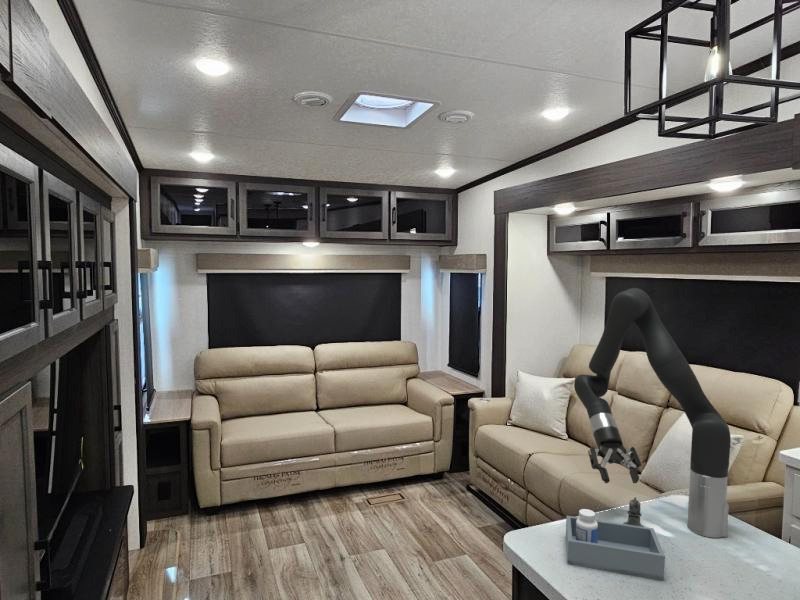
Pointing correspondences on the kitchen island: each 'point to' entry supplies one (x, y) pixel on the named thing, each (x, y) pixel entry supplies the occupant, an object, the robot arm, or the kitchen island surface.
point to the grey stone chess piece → (634, 513)
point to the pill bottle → (586, 526)
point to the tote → (617, 549)
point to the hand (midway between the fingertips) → (621, 482)
